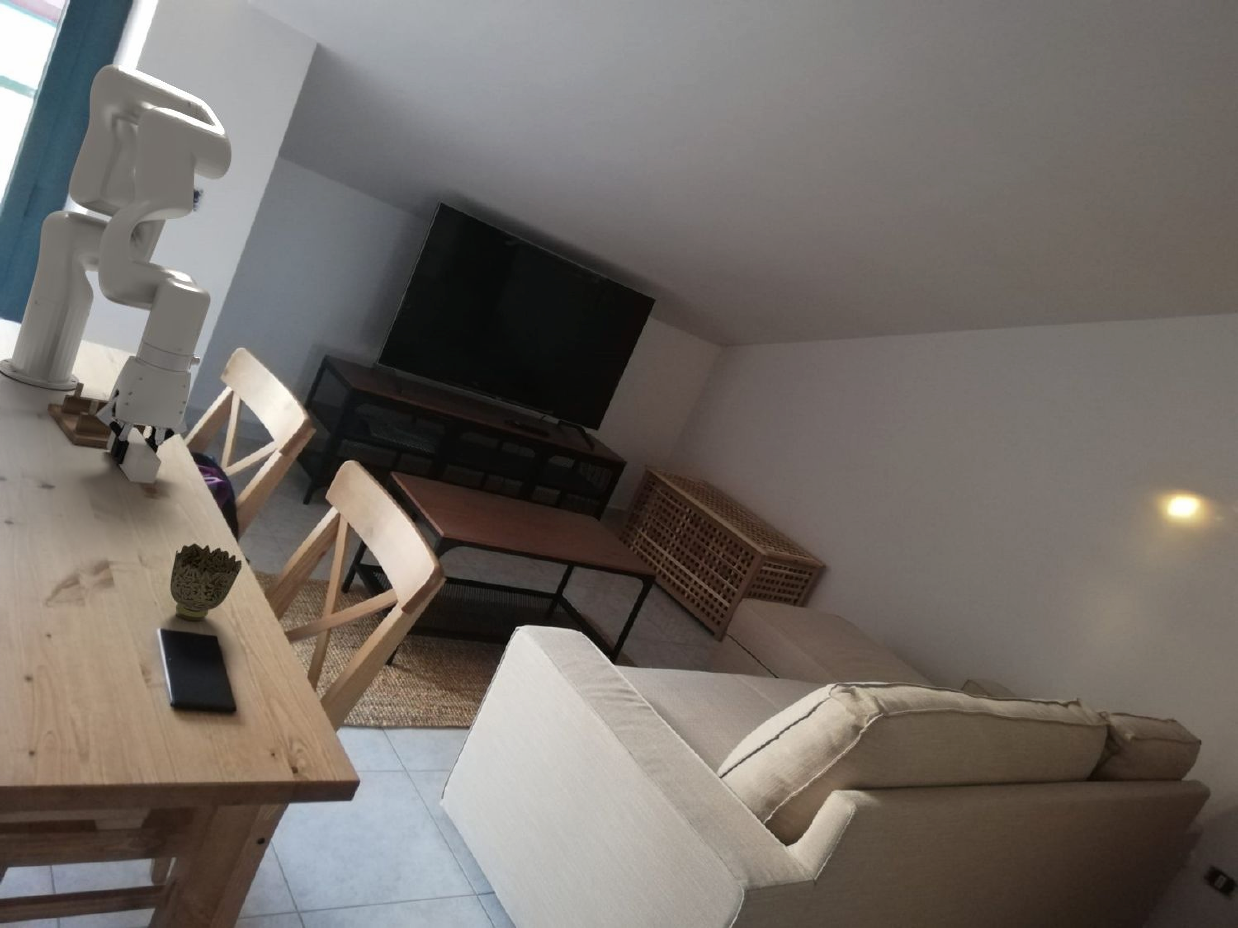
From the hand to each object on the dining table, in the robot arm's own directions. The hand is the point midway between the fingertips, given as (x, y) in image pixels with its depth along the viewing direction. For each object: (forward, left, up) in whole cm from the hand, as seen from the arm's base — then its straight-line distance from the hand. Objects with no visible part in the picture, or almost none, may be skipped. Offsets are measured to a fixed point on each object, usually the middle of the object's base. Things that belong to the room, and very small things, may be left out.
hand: (130, 461), depth 138 cm
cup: (+46, -8, -1) cm, 47 cm away
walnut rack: (-15, 0, -1) cm, 15 cm away
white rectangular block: (0, 0, -1) cm, 1 cm away
